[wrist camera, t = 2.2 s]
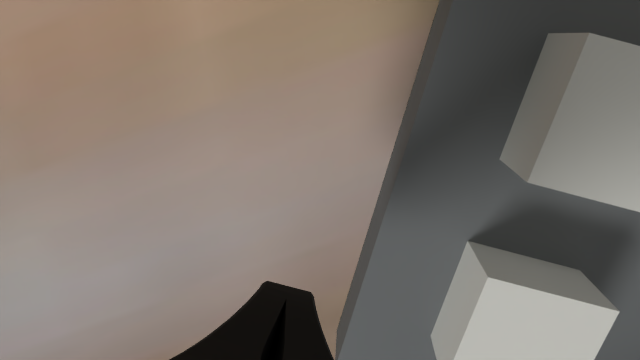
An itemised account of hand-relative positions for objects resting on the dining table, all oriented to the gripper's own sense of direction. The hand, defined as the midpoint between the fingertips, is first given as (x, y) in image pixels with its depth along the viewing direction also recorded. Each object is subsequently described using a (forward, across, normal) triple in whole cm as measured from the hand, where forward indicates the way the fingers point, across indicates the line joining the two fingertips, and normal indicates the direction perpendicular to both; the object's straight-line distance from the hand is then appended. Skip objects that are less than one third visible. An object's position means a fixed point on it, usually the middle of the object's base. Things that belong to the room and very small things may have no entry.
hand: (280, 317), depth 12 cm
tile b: (+4, -8, -7) cm, 11 cm away
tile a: (+4, -8, 0) cm, 9 cm away
